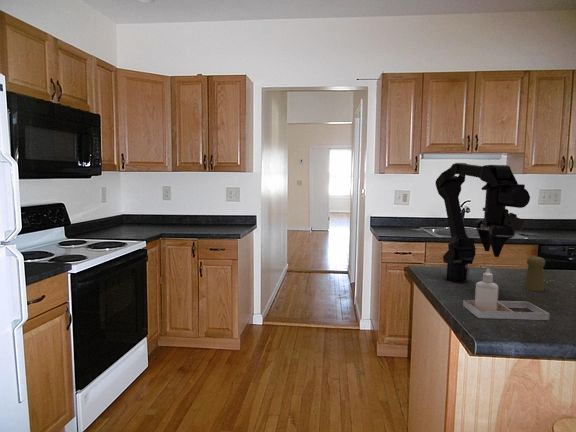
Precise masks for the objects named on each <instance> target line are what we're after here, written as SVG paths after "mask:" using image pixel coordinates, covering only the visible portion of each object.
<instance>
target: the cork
mask: <svg viewBox="0 0 576 432" xmlns="http://www.w3.org/2000/svg"><path fill="white" fill-rule="evenodd" d="M526 264H527V265H528V267H527V271H526V275H525V279H524V283H523V289H524V290H527V291H531V292H544V291H545V283H544V282H545V281H544V267H545V265H546V259H544V258H543V257H540V256H534V255H533V256H529V257H528V258H527V260H526Z"/></svg>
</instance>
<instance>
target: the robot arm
mask: <svg viewBox="0 0 576 432" xmlns="http://www.w3.org/2000/svg"><path fill="white" fill-rule="evenodd" d="M466 176H468V177H473V178H478V179H480V180H481V181H482V182H484V183H485V185H483V186H482V187H481V190H482V191H485V204H484V207H482V211H483V212H484V215H483V217H484V218H483V219H480V218H479V219H477V220H476V221H475V222H474V228H475V229H476V231H477V234H478V236H479V239H480V242H481V244H482V247H483V249H484V252H490V249H492V253H493V256H494V258H499V257H500V255H501V252H502V250H503V247H504V245H505V243H506V242H507V241H508V240H510V239H512V238H513V237H515V235H516V229H517V230H520V231H522V229H523V228H524V225H525V224H526V222H527V220H525V219H523V218H520V217H517V214H515V213H513V212H509V210H508V208H506V207H509V208H518V209H523V208H525V207H527V205H528V204H529V203H530V199H531V195H530V193H529V191H528V190H527V189H526V188H525V184H523V183H522V184H520V183H519V182H518V181H517V178H516V177H515V175H514V173H513V171H512V168H511V166H510V165H508V164H506V165H505V164H502V165H501V164H488V165H487V164H486V165H479V164H478V165H477V164H470V163H469V164H468V163H466V162H455V163H452V165H450V167H449V168H448V169H445V170H444V171H443V172H441V173H440V175H439V176H438V177H437V179H436V180H435V187H436V191H437V193H438V195H439V196H440V197H441V198H442V199H443V202H444V206H445V211H446V215H447V222H448V225H449V226H448V228H449V232H450V239H449V241H448V244H447V245H448V250H447V251H446V252H445V253H444V255H442V261H443V263H445V264H446V265H447V266H446V276H445V278H444V280H446V281H452V282H456V283H461V284H463V283H464V284H465V283H466V282H467V281H468V280H469V277H470V268H469V265H472V264H473V262H474V259H475V256H476V250H477V247H476V245H475V240H474V238H473V237H469V236H468V235H467V233H466V227H465V223H464V218H463V213H462V208H461V204H460V198H459V197H460V194H461V191H462V185H463V184H464V183H465V182H466Z"/></svg>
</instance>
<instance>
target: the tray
mask: <svg viewBox="0 0 576 432" xmlns="http://www.w3.org/2000/svg"><path fill="white" fill-rule="evenodd" d="M474 304H475V299H463V302H462V306H463V307H464V308H465V309H466V310H467V311H468V312H470V313H471V314H472V315H474V316H475V317H476V318H477V319H496V320H497V319H498V320H527V321H528V320H529V321H530V320H531V321H532V320H533V321H534V320H535V321H550V315H551V314H550V313H549V312H548V311H546V310H544V309H542V308H540V307H538V306H537V305H535V304H533V303H532V302H530V301H524V300H523V301H517V300H516V301H515V300H514V301H513V300H498V302H497V311H479V310H478V309H477V308H475V307H474ZM510 308H511V309H510ZM512 309H527V310H529V312H527V311H513V310H512ZM530 311H531V312H530Z"/></svg>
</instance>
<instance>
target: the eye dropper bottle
mask: <svg viewBox="0 0 576 432" xmlns="http://www.w3.org/2000/svg"><path fill="white" fill-rule="evenodd" d="M493 277H494V274H493V273H492V272H491V269H490V268H486V270H485V272H483V273H482V281H481V280H480V281H478V282H476V283H475V289H474V290H475V292H474V300H475V304H474V307H475V308H477V309H478V310H479V311H497V302H498V301H499V285H498V284H497V283H496V282H495V283H494V282H493V281H494V279H493Z"/></svg>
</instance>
